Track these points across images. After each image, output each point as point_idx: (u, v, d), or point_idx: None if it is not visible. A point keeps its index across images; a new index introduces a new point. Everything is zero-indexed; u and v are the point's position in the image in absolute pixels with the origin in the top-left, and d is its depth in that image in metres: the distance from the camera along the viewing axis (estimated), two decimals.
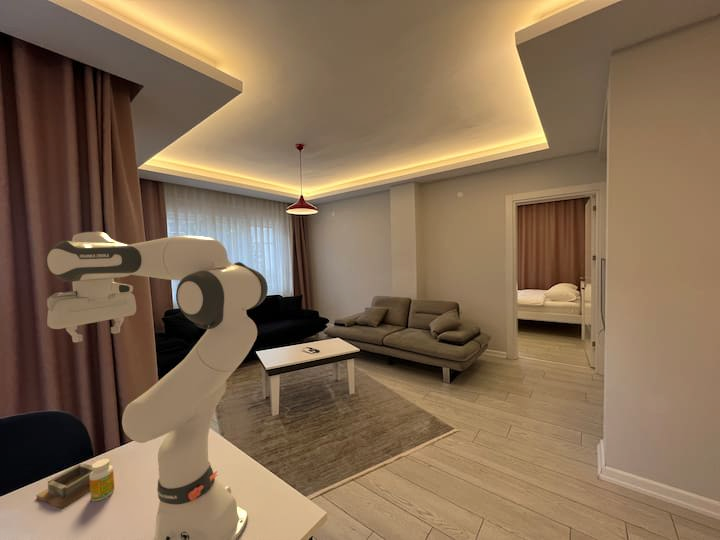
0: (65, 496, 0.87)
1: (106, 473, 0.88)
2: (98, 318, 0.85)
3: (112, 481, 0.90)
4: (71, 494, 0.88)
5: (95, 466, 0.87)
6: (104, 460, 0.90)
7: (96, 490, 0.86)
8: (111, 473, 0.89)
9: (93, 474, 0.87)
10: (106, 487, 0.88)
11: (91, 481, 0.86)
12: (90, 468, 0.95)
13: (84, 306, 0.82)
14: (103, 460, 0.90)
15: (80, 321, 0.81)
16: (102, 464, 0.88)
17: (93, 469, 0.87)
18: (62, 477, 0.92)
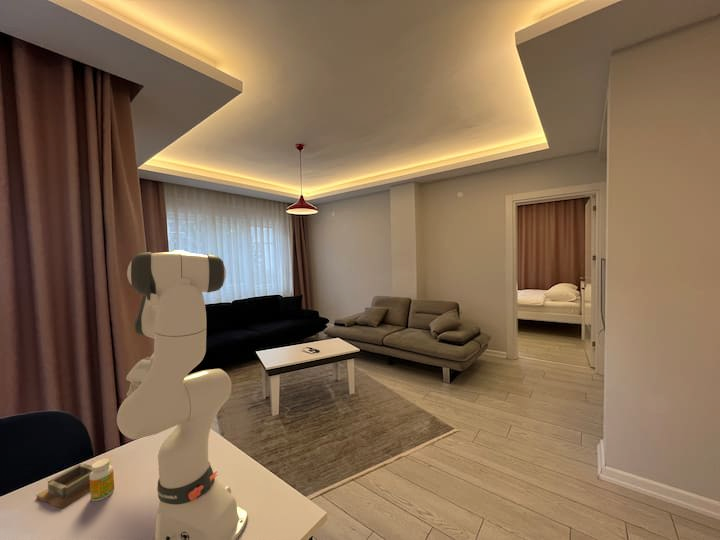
0: (65, 496, 0.87)
1: (106, 473, 0.88)
2: (145, 379, 1.02)
3: (112, 481, 0.90)
4: (71, 494, 0.88)
5: (95, 466, 0.87)
6: (104, 460, 0.90)
7: (96, 490, 0.86)
8: (111, 473, 0.89)
9: (93, 474, 0.87)
10: (106, 487, 0.88)
11: (91, 481, 0.86)
12: (90, 468, 0.95)
13: (147, 367, 1.06)
14: (103, 460, 0.90)
15: (136, 377, 1.03)
16: (102, 464, 0.88)
17: (93, 469, 0.87)
18: (62, 477, 0.92)
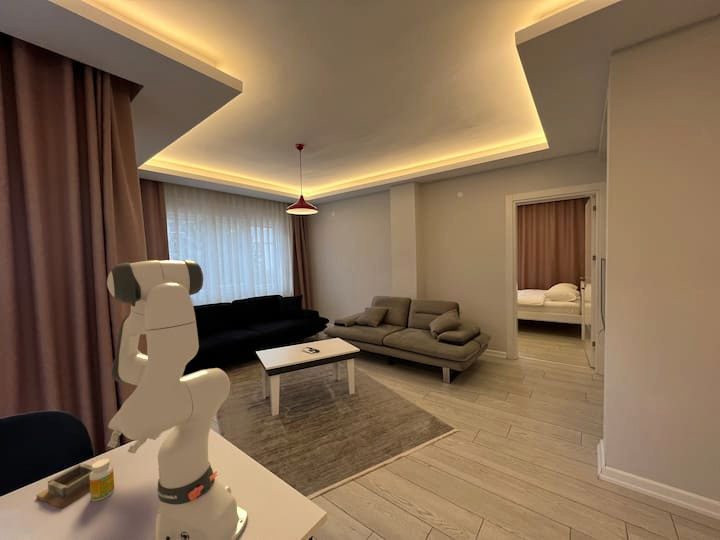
0: (65, 496, 0.87)
1: (106, 473, 0.88)
2: None
3: (112, 481, 0.90)
4: (71, 494, 0.88)
5: (95, 466, 0.87)
6: (104, 460, 0.90)
7: (96, 490, 0.86)
8: (111, 473, 0.89)
9: (93, 474, 0.87)
10: (105, 487, 0.88)
11: (91, 481, 0.86)
12: (90, 468, 0.95)
13: None
14: (103, 460, 0.90)
15: (118, 426, 0.98)
16: (102, 464, 0.88)
17: (93, 469, 0.87)
18: (62, 477, 0.92)
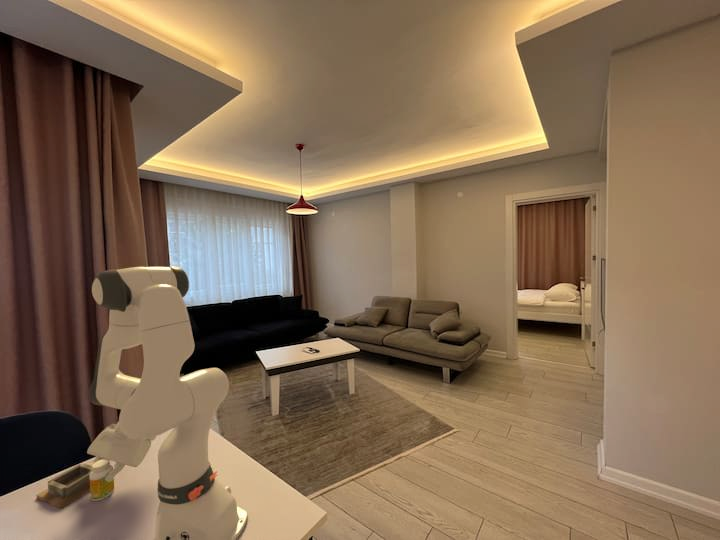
0: (65, 496, 0.87)
1: (106, 473, 0.88)
2: (107, 455, 0.91)
3: (112, 481, 0.90)
4: (71, 494, 0.88)
5: (95, 466, 0.87)
6: (104, 460, 0.90)
7: (96, 490, 0.86)
8: None
9: (93, 474, 0.87)
10: (106, 487, 0.88)
11: (91, 481, 0.86)
12: (90, 468, 0.95)
13: (110, 439, 0.94)
14: (103, 460, 0.90)
15: (98, 452, 0.92)
16: (102, 464, 0.88)
17: (93, 469, 0.87)
18: (62, 477, 0.92)
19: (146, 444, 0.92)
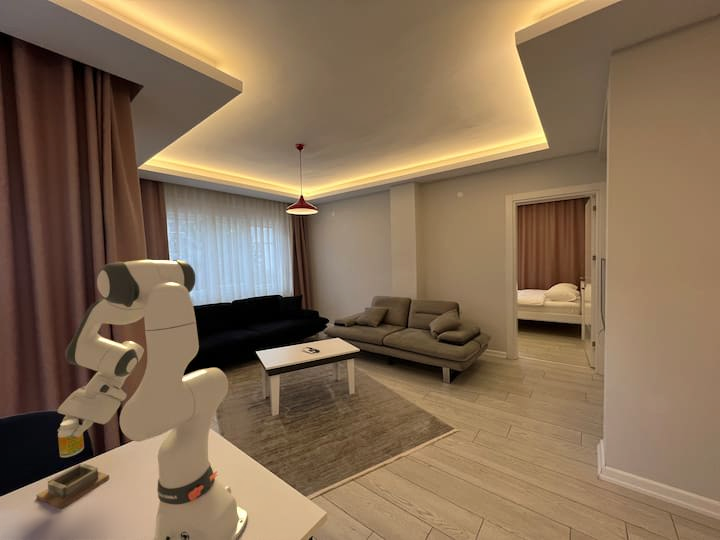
0: (65, 496, 0.87)
1: None
2: (76, 413, 0.93)
3: (81, 439, 0.92)
4: (71, 494, 0.88)
5: (63, 424, 0.90)
6: (73, 419, 0.92)
7: (64, 447, 0.89)
8: None
9: (61, 432, 0.89)
10: (74, 444, 0.90)
11: (59, 438, 0.89)
12: (90, 468, 0.95)
13: (80, 399, 0.97)
14: (72, 419, 0.92)
15: (67, 410, 0.94)
16: (70, 422, 0.91)
17: (61, 427, 0.89)
18: (62, 477, 0.92)
19: (115, 403, 0.95)
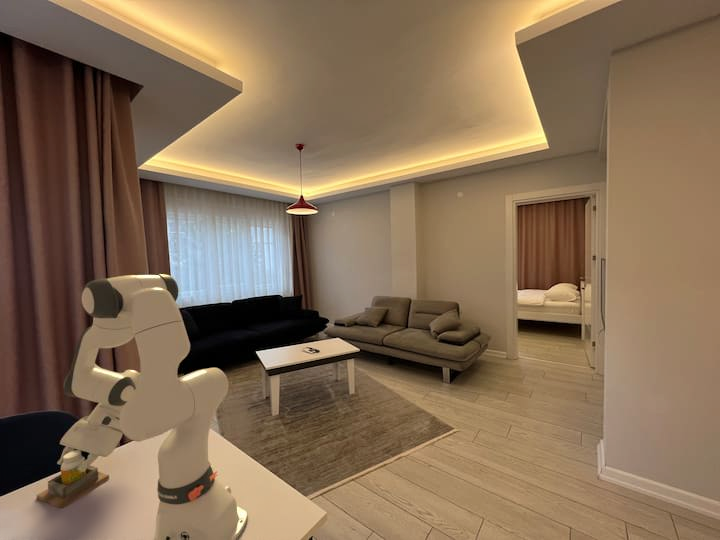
0: (65, 496, 0.87)
1: (77, 463, 0.91)
2: (78, 445, 0.93)
3: (83, 472, 0.93)
4: (71, 494, 0.88)
5: (66, 457, 0.90)
6: (76, 451, 0.93)
7: (67, 480, 0.89)
8: None
9: (64, 464, 0.90)
10: (77, 477, 0.91)
11: (62, 471, 0.89)
12: (90, 468, 0.95)
13: (83, 430, 0.97)
14: (75, 451, 0.93)
15: (70, 442, 0.95)
16: (73, 455, 0.91)
17: (64, 460, 0.90)
18: None
19: (117, 435, 0.95)
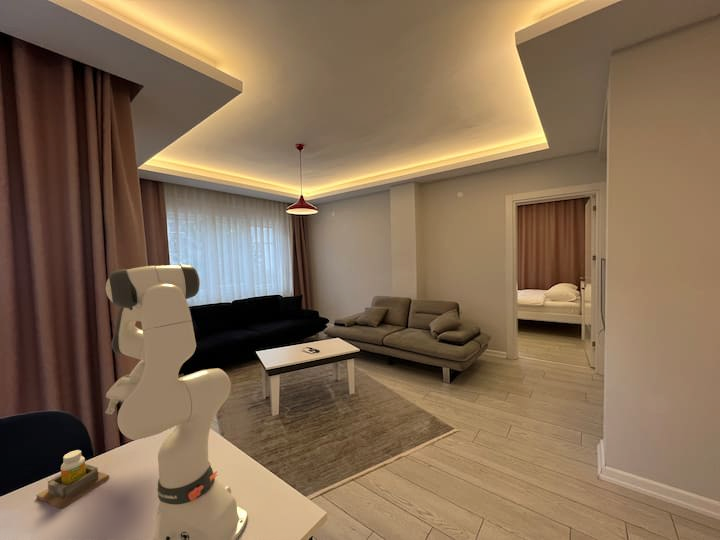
0: (65, 496, 0.87)
1: (77, 463, 0.91)
2: (123, 396, 1.05)
3: (83, 472, 0.93)
4: (71, 494, 0.88)
5: (66, 457, 0.90)
6: (76, 451, 0.93)
7: (67, 480, 0.89)
8: (82, 464, 0.92)
9: (64, 464, 0.90)
10: (77, 477, 0.91)
11: (62, 471, 0.89)
12: (90, 468, 0.95)
13: (126, 385, 1.09)
14: (75, 451, 0.93)
15: (115, 395, 1.06)
16: (73, 455, 0.91)
17: (64, 460, 0.90)
18: None
19: None
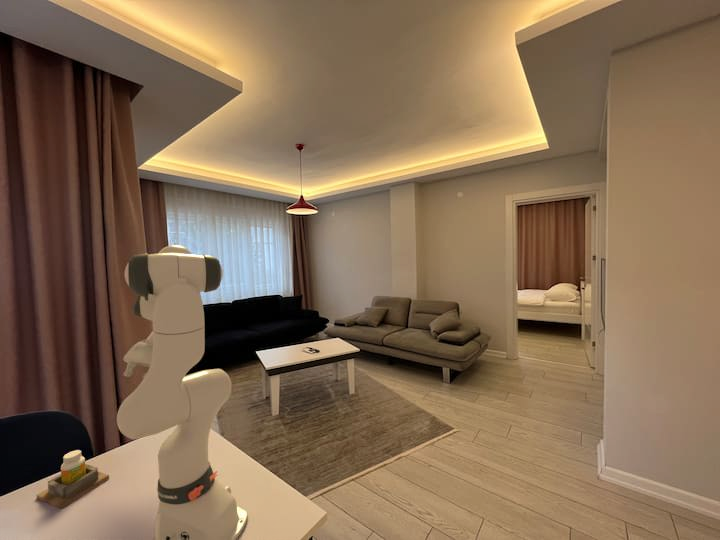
0: (65, 496, 0.87)
1: (77, 463, 0.91)
2: (141, 359, 1.05)
3: (83, 472, 0.93)
4: (71, 494, 0.88)
5: (66, 457, 0.90)
6: (76, 451, 0.93)
7: (67, 480, 0.89)
8: (82, 464, 0.92)
9: (64, 464, 0.90)
10: (77, 477, 0.91)
11: (62, 471, 0.89)
12: (90, 468, 0.95)
13: (143, 349, 1.09)
14: (75, 451, 0.93)
15: (133, 358, 1.07)
16: (73, 455, 0.91)
17: (64, 460, 0.90)
18: None
19: None
